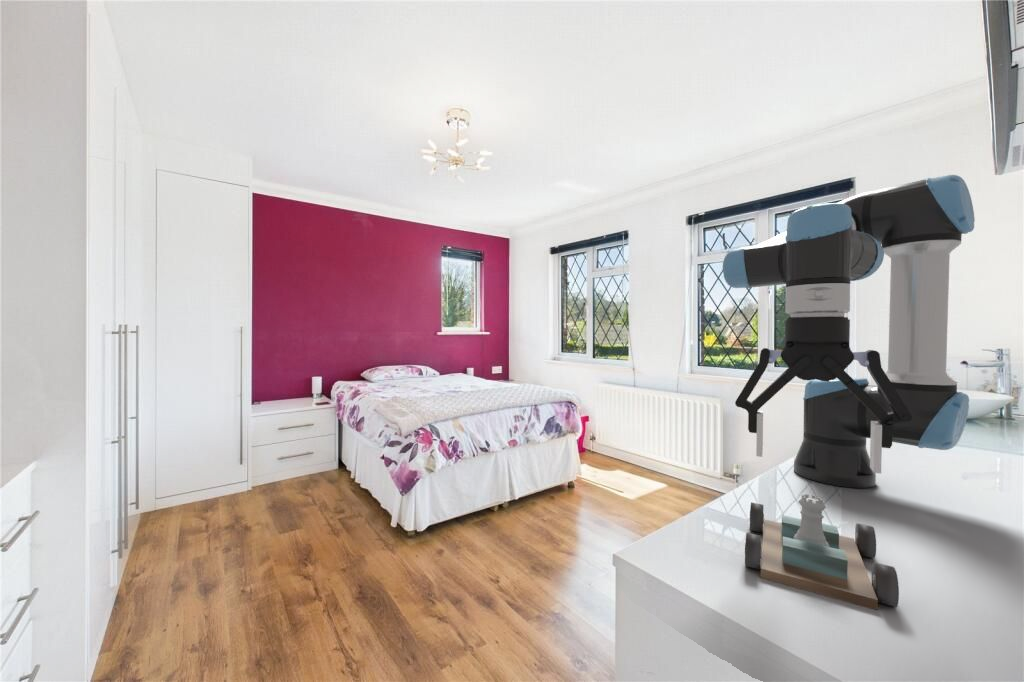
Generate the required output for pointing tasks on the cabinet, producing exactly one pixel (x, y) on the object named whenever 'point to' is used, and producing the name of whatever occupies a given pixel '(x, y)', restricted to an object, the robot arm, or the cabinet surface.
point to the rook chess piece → (811, 521)
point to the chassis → (820, 561)
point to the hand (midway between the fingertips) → (813, 462)
